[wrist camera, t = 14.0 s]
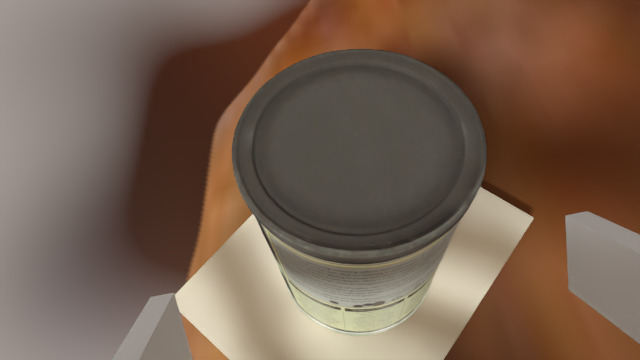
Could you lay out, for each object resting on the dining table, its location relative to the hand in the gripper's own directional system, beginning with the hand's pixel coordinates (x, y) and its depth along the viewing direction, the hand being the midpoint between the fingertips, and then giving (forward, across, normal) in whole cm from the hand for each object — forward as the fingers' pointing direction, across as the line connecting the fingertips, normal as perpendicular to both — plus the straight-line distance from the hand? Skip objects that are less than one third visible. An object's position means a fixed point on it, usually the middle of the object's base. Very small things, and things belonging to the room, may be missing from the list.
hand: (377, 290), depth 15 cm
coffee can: (+15, +1, -6) cm, 16 cm away
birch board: (+16, +1, -6) cm, 17 cm away
